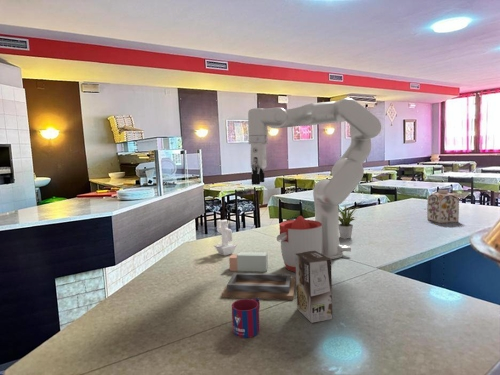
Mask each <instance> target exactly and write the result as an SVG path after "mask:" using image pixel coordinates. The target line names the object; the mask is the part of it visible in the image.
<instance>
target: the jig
mask: <svg viewBox="0 0 500 375" xmlns="http://www.w3.org/2000/svg"><path fill="white" fill-rule="evenodd" d="M295 287H296V277H292V274H291V273H288V274H287V273H255V272H253V273H250V272H234V273H233V274H232V276H231V277H230V279H229V280H228V281H227V284H226V286H225V287H224V289H223V290H222V292H221V298H235V299H236V298H238V299H239V298H240V299H253V298H258V299H260V300H261V299H267V300H289V301H290V300H291V301H292V300H294V297H295V289H296V288H295Z"/></svg>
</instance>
